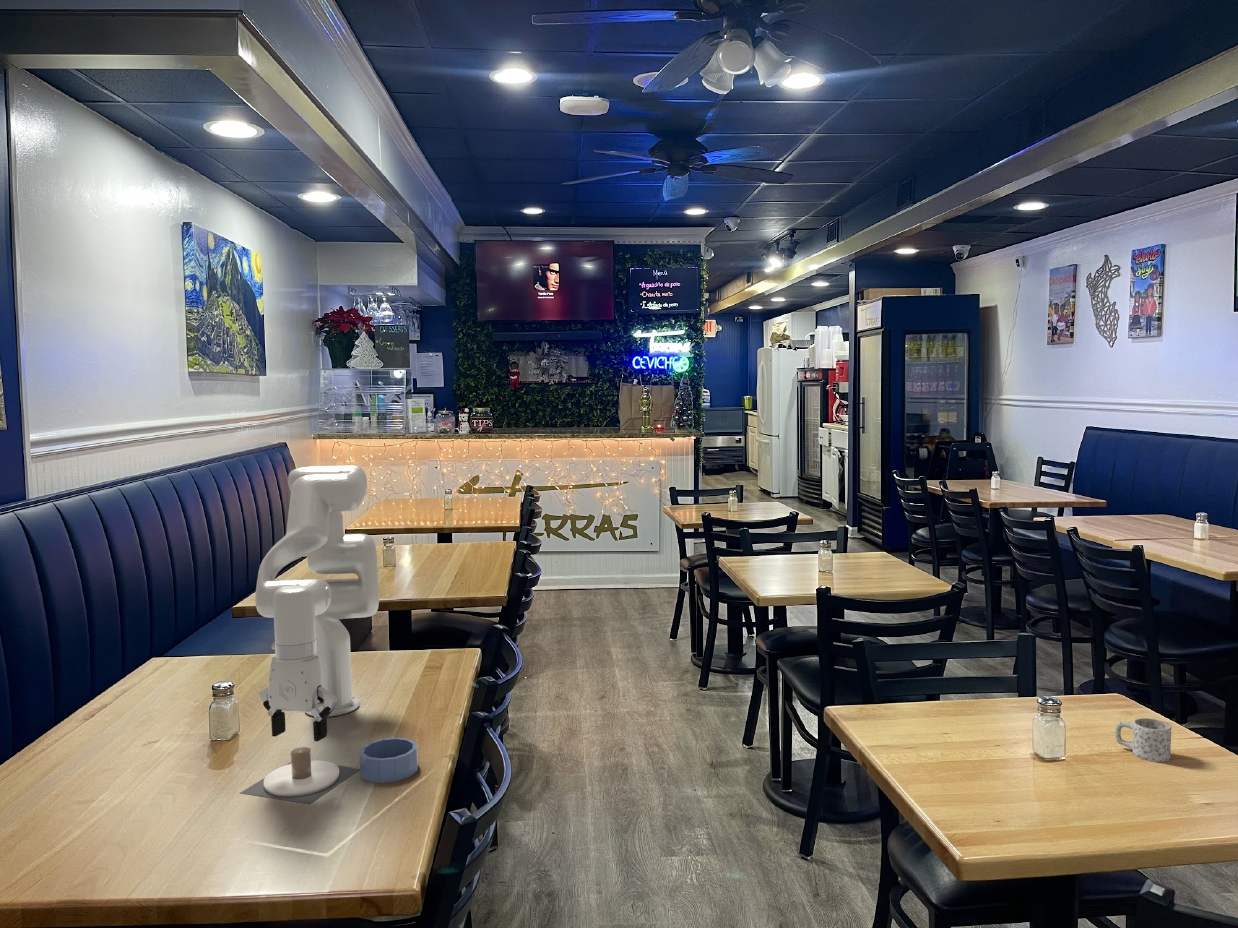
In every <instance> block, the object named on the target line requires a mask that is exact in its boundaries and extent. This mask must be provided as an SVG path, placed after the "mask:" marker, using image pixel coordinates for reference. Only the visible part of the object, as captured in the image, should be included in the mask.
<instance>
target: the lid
mask: <svg viewBox="0 0 1238 928" xmlns="http://www.w3.org/2000/svg"><path fill="white" fill-rule="evenodd" d="M311 755H312V754H311V748H310V747H306V746H303V747H297V748H294V749H292V750H291V751H290V762H291V764H289V765H287V764H285V765H282V766H280V767H278V768H275V769H274V770H272V771H271V772H269V773H268V774H267V775H266V776H265V777H264V778H265V779H264V789H265V791H266V792H268V793H269V794H272V795H276V796H283V797H293V796H302V795H307V794H312V793H315V792H318V791H321V790H324V789H326V788H328V787H330V786H331V785H333V784H334V783H335V782H336V781H337V780H338V778H339V768H338V766H339V765H338V764H335V763H333V762H331V761H330V762H329V761H325V760H312V759H311V758H312V757H311ZM337 765H338V766H337Z"/></svg>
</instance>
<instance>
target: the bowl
mask: <svg viewBox="0 0 1238 928" xmlns="http://www.w3.org/2000/svg"><path fill="white" fill-rule="evenodd" d="M418 764H419V763H418V743H417V742H416V741H414V740H412V739H410V738H405V737H397V736H396V737H387V738H381V739H377V740H374V741H370V742H368V743H366V744H365V745H364V746H362V747H360V751H359V766H360V767H359V768H360V770H359V771H360V777H361V778H362V779H364V780H365V781H366V782H371V783H377V784H378V783H379V784H383V783H392V782H393V783H395V782H399V781H401V780H404V779H407V778H410V777H411V776H413V775H414V774H415V773H416V772H418V766H419V765H418Z"/></svg>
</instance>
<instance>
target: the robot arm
mask: <svg viewBox="0 0 1238 928" xmlns="http://www.w3.org/2000/svg"><path fill="white" fill-rule="evenodd" d="M287 484H288V489H289V491H290V497H289V507H288V515H287V524H286V532H285V535H284V536H283V537H282V538H281V539H280V540H278V541H277V542H276V543H275V544H274V545H273V546H272V547H271V548H270V549H269V551H267V553H265V554H266V555H265V556H264V558H262V561H261V563H260V565H259V569H258V573H257V580H256V586H255V587H256V588H255V600H254V601H255V608H256V611H257V612H258V614H259V615H261V616H262V617H264V618H269V619H270V618H273V624H274V625H273V626H274V627H273V630H274V642H272V643H271V650H274V653H275V656H274V657H272V658H271V662H270V667H269V675H268V687H266V688H264V689H262V690H260V691H259V692H258V694H259V697H260V700H261V701H262V702H263V703H262V705H263V707H264V708H265V709H266V710H267V715H268V716H269V717H270V721H271V736H272V737H278V736H280V735H282V734H283V733H285V732H286V730H287V729H286V714H285V711H287V712H294V713H295V712H296V713H306V714H307V715H309V716H312V717H313V718H314V719H315V720H314V721H313V722H312V727H313V728H312V729H313V741H314V742H319V741H321V740H323V739H325V738H326V737H328V722H327V721H328V720H327V719H328V717H334V716H335V717H336V716H342V715H344V714H348V713H351V712H353V711H355V710H356V709H358V707H359V706H360V700H359V698H358V697H357V696H354V695H353V683H352V682H353V680H352V661H351V660H352V659H351V658H352V655H351V654H352V653H351V636H350V633H349V631H348V630H347V628H346V627H345V626H344V624H343V623H342V622H341V620H343V619H355V618H356V619H357V618H358V619H361V618H368V617H372V616H374V615H375V614H376V613H377V612H378V609H379V605H380V604H379V603H380V598H379V597H380V596H379V595H380V593H379V592H380V591H379V590H380V589H379V572H378V553H377V546H376V543H375V540H374V539H373V537H372V536H371V535H369V534H366V533H345V532H344V519H343V517H344V515H343V513H342V512H353V511H356V510H358V509H359V507H360V506H361V504H362V502H363V500H364V498H365V496H366V493H367V488H368V479H367V474H366V472H365V470H364V469H363V468H362V467H361V466H359V465H311V466H303V467H297V468H295V469H293V470H291V471H290V472H289V474H288V477H287ZM305 556H306V558H307V565H308V568H309V571H310V572H312V573H313V574H315V575H324V576H325V575H327V576H328V575H349V574H351V575H352V574H354V575H356V576H357V578H356V577H355V578H354V577H352V578H332V579H331V578H329V579H322V578H315V577H314V578H313V577H312V578H285V579H284V578H283V579H282V578H281V579H276V576H277V575H278V574H279V572H280V571H281V570H282V569H283V568H284V567H285V566H287V565H289V564H290V563H292V562H294V561H297V560H299V559H301V558H302V557H305Z"/></svg>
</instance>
